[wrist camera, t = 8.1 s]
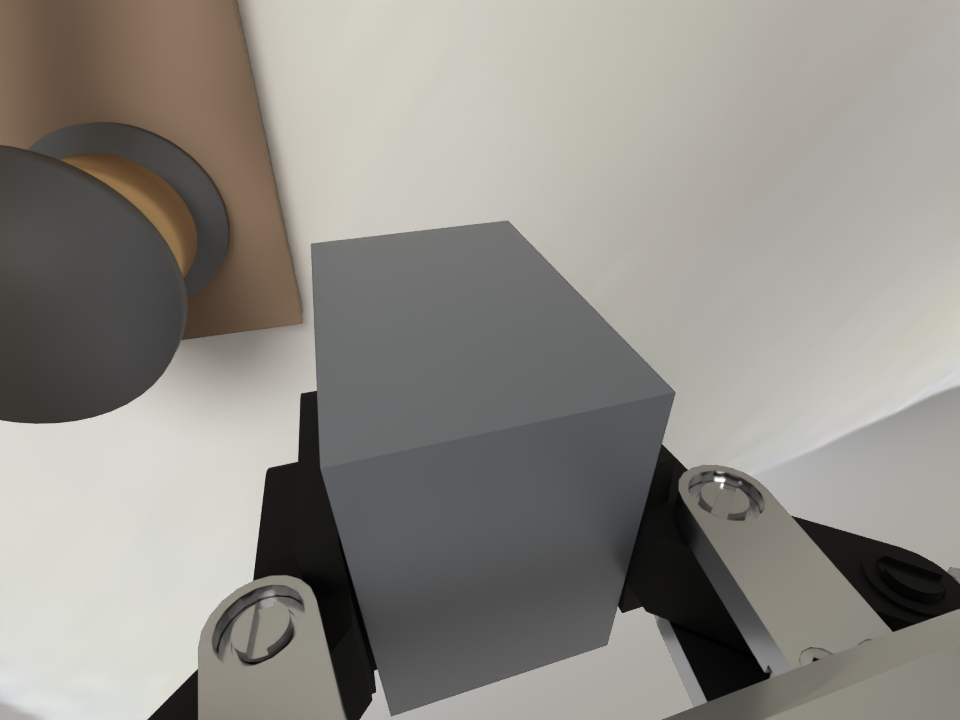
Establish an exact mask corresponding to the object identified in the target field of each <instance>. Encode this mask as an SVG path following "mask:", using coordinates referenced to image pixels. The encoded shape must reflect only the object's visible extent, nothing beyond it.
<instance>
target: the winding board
mask: <svg viewBox="0 0 960 720" xmlns="http://www.w3.org/2000/svg"><path fill="white" fill-rule="evenodd" d="M302 313H303V310H302V306H301V301H300V296H299V292H298V287H297V282H296V278H295V273H294V268H293V263H292V259H291V254H290V249H289V245H288V240H287V235H286V231H285V226H284V221H283V217H282V212H281V207H280V202H279V198H278V193H277V188H276V184H275V179H274V174H273V170H272V165H271V160H270V156H269V151H268V146H267V141H266V137H265V132H264V127H263V123H262V118H261V113H260V109H259V104H258V99H257V95H256V90H255V85H254V80H253V76H252V71H251V66H250V62H249V57H248V52H247V48H246V43H245V38H244V34H243V29H242V24H241V20H240V15H239V10H238V5H237V1H236V0H0V420H3V421H10V422H19V423H34V424H39V423H62V422H70V421H78V420H82V419H87V418H92V417H95V416H99V415H102V414H105V413H108V412H111V411H113V410H115V409H117V408H119V407H122V406H124V405H126V404H128V403H129V402H131V401H133V400H134V399H136V398H137V397H139V396H141V395H142V394H143V393H144V392H145V391H147V390H148V389H149V388H150V387H151V386H153V384H154V383H155V382H156V381H157V380H158V379H159V378H160V377H161V375H162V374H163V373H164V371H165V370H166V368H167V367H168V365H169V363H170V362H171V360H172V358H173V356H174V354H175V352H176V350H177V348H178V346H179V344H180V342H181V340H185V339H192V338H199V337H207V336H214V335H221V334H229V333H236V332H243V331H251V330H258V329H266V328H273V327H280V326H288V325H295V324H302Z"/></svg>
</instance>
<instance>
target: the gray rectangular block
mask: <svg viewBox="0 0 960 720" xmlns="http://www.w3.org/2000/svg"><path fill="white" fill-rule="evenodd" d="M311 258H312V282H313V306H314V330H315V354H316V378H317V401H318V425H319V449H320V469H321V473H322V476H323V480H324V483H325V487H326V490H327V494H328V497H329V501H330V504H331V508H332V511H333V515H334V518H335V522H336V525H337V529H338V532H339V536H340V539H341V543H342V546H343V550H344V553H345V557H346V560H347V564H348V567H349V571H350V574H351V578H352V581H353V585H354V588H355V592H356V595H357V599H358V602H359V606H360V609H361V613H362V616H363V620H364V623H365V627H366V630H367V634H368V637H369V641H370V644H371V648H372V651H373V655H374V658H375V662H376V665H377V669H378V672H379V676H380V679H381V683H382V686H383V689H384V693H385V696H386V700H387V704H388V707H389V711H390V714H391V716H394V715H397V714H400V713H403V712H406V711H409V710H412V709H415V708H418V707H421V706H424V705H427V704H430V703H433V702H436V701H439V700H442V699H445V698H448V697H451V696H455V695H457V694H461V693H464V692H467V691H470V690H472V689H476V688H479V687H482V686H485V685H488V684H491V683H494V682H497V681H500V680H503V679H506V678H509V677H512V676H515V675H518V674H521V673H524V672H527V671H530V670H533V669H536V668H539V667H542V666H545V665H548V664H551V663H554V662H557V661H560V660H564V659H566V658H569V657H573V656H576V655H579V654H582V653H584V652H588V651H591V650H594V649H597V648H600V647H603V646H606V645H607V644H608V640H609V636H610V633H611V629H612V625H613V621H614V618H615V614H616V611H617V607H618V603H619V599H620V596H621V592H622V588H623V585H624V581H625V577H626V574H627V570H628V566H629V562H630V559H631V555H632V551H633V548H634V544H635V540H636V537H637V533H638V529H639V525H640V522H641V518H642V514H643V511H644V507H645V503H646V500H647V496H648V492H649V489H650V485H651V481H652V477H653V474H654V470H655V466H656V463H657V459H658V455H659V452H660V448H661V444H662V440H663V437H664V433H665V429H666V426H667V422H668V418H669V415H670V411H671V407H672V403H673V400H674V396H675V391H674V390H673V389H672V388H671V387H670V386H669V385H668V384H667V383H666V382H665V381H664V380H663V379H662V378H661V377H660V376H659V375H658V374H657V373H656V372H655V371H654V370H653V369H652V368H651V367H650V366H649V365H648V364H647V363H646V362H645V361H644V359H643V358H642V357H641V356H640V355H639V354H638V353H637V352H636V351H635V350H634V349H633V348H632V347H631V346H630V345H629V344H628V343H627V342H626V341H625V340H624V339H623V338H622V337H621V336H620V335H619V334H618V333H617V332H616V331H615V330H614V329H613V328H612V327H611V326H610V325H609V324H608V323H607V322H606V321H605V320H604V319H603V317H602V316H601V315H600V314H599V313H598V312H597V311H596V310H595V309H594V308H593V307H592V306H591V305H590V304H589V303H588V302H587V301H586V300H585V299H584V298H583V297H582V296H581V295H580V294H579V293H578V292H577V291H576V290H575V289H574V288H573V287H572V286H571V285H570V284H569V283H568V282H567V281H566V280H565V279H564V278H563V276H562V275H561V274H560V273H559V272H558V271H557V270H556V269H555V268H554V267H553V266H552V265H551V264H550V263H549V262H548V261H547V260H546V259H545V258H544V257H543V256H542V255H541V254H540V253H539V252H538V251H537V250H536V249H535V248H534V247H533V246H532V245H531V244H530V243H529V242H528V241H527V240H526V239H525V238H524V237H523V236H522V234H521V233H520V232H519V231H518V230H517V229H516V228H515V227H514V226H513V225H512V224H511V223H510V222H509V221H500V222H491V223H483V224H474V225H466V226H457V227H449V228H440V229H432V230H423V231H415V232H406V233H398V234H389V235H381V236H372V237H363V238H355V239H346V240H338V241H329V242H321V243H312V244H311Z"/></svg>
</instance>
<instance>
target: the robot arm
mask: <svg viewBox="0 0 960 720" xmlns="http://www.w3.org/2000/svg"><path fill="white" fill-rule="evenodd" d="M618 607H619V609H620V610H621V612H622V613H624V612H627V611H630V610H633V609H636V608H640V607H644V609H645V610H646V612H649V613H651V614H654V615H655V619H656V623H657V626H658V628H659V630H660V633H661V635H662V637H663V639H664V641H665V644H666V646H667V648H668V650H669V653H670V654H671V657H672V659H673V662H674V664H675V666H676V668H677V670H678V673H679V675H680V677H681V679H682V682H683V684H684V686H685V688H686V690H687V693H688V695H689V697H690V699H691V701H692V704H693V706H694V708H691V709H689V710H686V711H684V712H681V713H678V714H676V715H673V716H670V717H668V718H665V719H663V720H960V569H958V568H952V567H950V568H949V569H948V571H947V572H946V571H945V570H943V569H942V568H941V567H939V566H938V565H937V564H935V563H933V562H932V561H930V560H928V559H926V558H924V557H922V556H920V555H919V554H916V553H914V552H911V551H908V550H906V549H903V548H900V547H897V546H894V545H890V544H887V543H883V542H880V541H876V540H873V539H870V538H866V537H863V536H859V535H856V534H852V533H849V532H846V531H842V530H839V529H835V528H832V527H828V526H825V525H821V524H818V523H814V522H811V521H808V520H804V519H801V518H797V517H793V516H791V515H790V514H789V513H788V512H787V511H786V510H785V509H784V507H783V506H782V505H781V504H780V503H779V502H778V501H777V499H776V498H775V497H774V496H773V495H772V494H771V493H770V492H769V490H768V489H767V488H766V487H764V486H763V485H762V484H761V483H760V482H759V481H758V480H756V479H754V478H753V477H751V476H749V475H748V474H746V473H744V472H741V471H738V470H735V469H733V468H729V467H724V466H719V465H702V466H698V467H693V468H691V469H689V470H687V469H686V468H685V467H684V466H683V465H682V464H681V463H680V462H679V461H678V460H677V459H676V458H675V457H674V456H673V455H672V454H671V453H670V452H669V451H668V450H667V449H666V448H665V447H664V446H663V445H662V444H661V448H660V452H659V455H658V459H657V463H656V466H655V470H654V474H653V477H652V481H651V485H650V489H649V492H648V496H647V500H646V503H645V507H644V511H643V514H642V518H641V522H640V525H639V529H638V533H637V537H636V540H635V544H634V548H633V551H632V555H631V559H630V562H629V566H628V570H627V574H626V577H625V581H624V585H623V588H622V592H621V596H620V599H619V603H618ZM374 670H377V665H376V662H375V658H374V655H373V651H372V648H371V644H370V641H369V637H368V634H367V630H366V627H365V623H364V620H363V616H362V613H361V609H360V606H359V602H358V599H357V595H356V592H355V588H354V585H353V581H352V578H351V574H350V571H349V567H348V564H347V560H346V557H345V553H344V550H343V546H342V543H341V539H340V536H339V532H338V529H337V525H336V522H335V518H334V515H333V511H332V508H331V504H330V501H329V497H328V494H327V490H326V487H325V483H324V480H323V476H322V473H321V469H320V449H319V425H318V401H317V391H313V392H307V393H302V394H301V399H300V426H299V454H298V462H295V463H291V464H286V465H281V466H276V467H271V468H269V469H268V470H267V473H266V478H265V487H264V495H263V503H262V512H261V520H260V528H259V537H258V545H257V553H256V562H255V570H254V578H253V581H252V582H250V583H248V584H246V585H244V586H242V587H240V588H238V589H237V590H236V591H234V592H233V593H232V594H231V595H229V596H228V597H227V598H225V599H224V600H223V601H222V602H221V603H220V604H219V605H218V606H217V608H216V609H215V610H214V611H213V612H212V613H211V615H210V616H209V618H208V620H207V622H206V624H205V626H204V627H203V629H202V631H201V635H200V641H199V646H198V669H197V670H196V671H195V672H194V673H193V674H192V675H191V676H190V677H189V678H188V679H187V680H186V681H185V682H184V683H183V684H182V685H181V686H180V687H179V688H178V689H177V690H176V691H175V692H174V693H173V694H172V695H171V696H170V697H169V698H168V699H167V700H166V701H165V702H164V703H163V704H162V705H161V706H160V708H159V709H158V710H157V711H156V712H155V713H154V714H153V715H152V716H151V717H150V718H149V719H148V720H359V719H360V718H361V716H362V715H363V713H364V712H365V710H366V709H367V707H368V706H369V705H370V703H371V701H372V694H373V693H375V692H376V686H375V677H374Z"/></svg>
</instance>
